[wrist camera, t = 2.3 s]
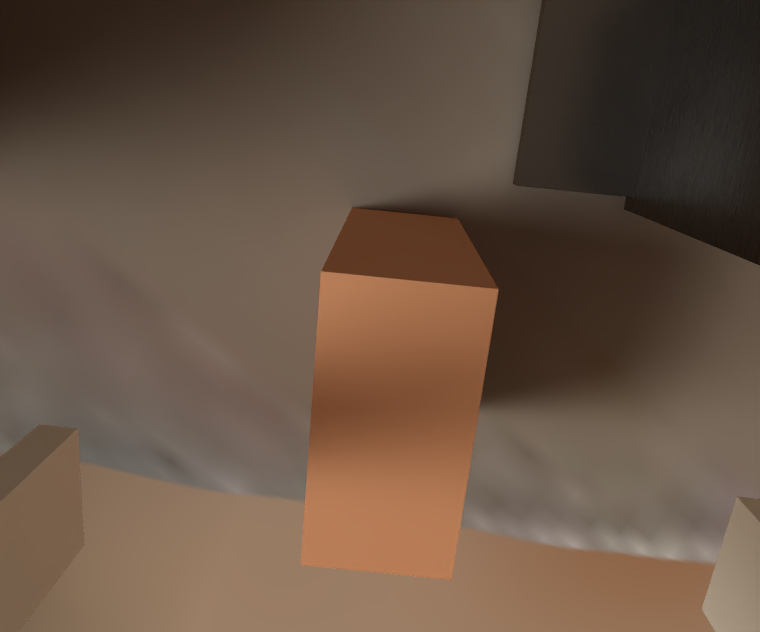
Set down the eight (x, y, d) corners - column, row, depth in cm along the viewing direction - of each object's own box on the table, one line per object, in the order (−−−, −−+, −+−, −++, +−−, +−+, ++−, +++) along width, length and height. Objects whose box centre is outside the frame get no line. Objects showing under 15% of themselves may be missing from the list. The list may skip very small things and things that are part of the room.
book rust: (336, 399, 26) (300, 564, 16) (352, 207, 23) (321, 271, 14) (431, 409, 26) (451, 579, 16) (457, 218, 23) (498, 289, 14)
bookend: (510, 197, 23) (590, 255, 13) (550, -48, 20) (682, -189, 11) (650, 211, 23) (829, 280, 13) (707, -32, 20) (975, -158, 11)
